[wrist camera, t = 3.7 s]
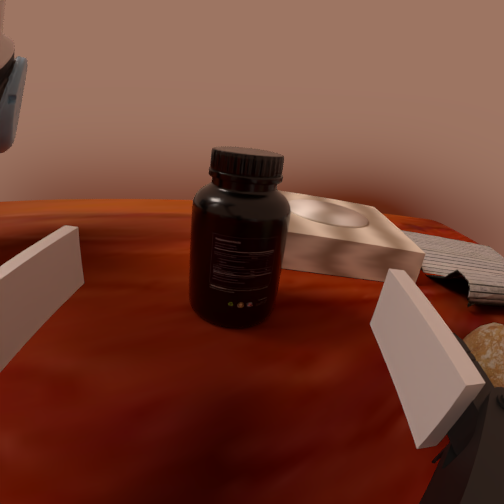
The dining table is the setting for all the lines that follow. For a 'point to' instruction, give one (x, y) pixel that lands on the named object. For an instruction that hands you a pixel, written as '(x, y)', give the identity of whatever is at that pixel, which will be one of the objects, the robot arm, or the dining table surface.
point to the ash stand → (346, 240)
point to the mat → (464, 266)
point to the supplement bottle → (238, 237)
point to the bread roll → (489, 350)
